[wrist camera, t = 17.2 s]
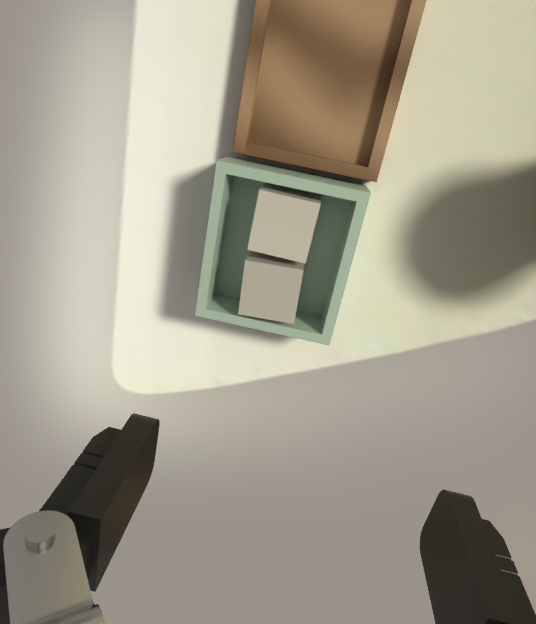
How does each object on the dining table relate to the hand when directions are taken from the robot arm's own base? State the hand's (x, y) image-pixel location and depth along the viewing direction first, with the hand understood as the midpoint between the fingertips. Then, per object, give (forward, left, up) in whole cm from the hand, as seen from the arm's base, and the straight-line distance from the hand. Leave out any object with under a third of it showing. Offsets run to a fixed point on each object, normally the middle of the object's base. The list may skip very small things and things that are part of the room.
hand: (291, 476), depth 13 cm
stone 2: (+2, -2, -24) cm, 24 cm away
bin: (0, -2, -24) cm, 24 cm away
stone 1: (-3, -2, -24) cm, 24 cm away
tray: (-14, -2, -24) cm, 28 cm away
